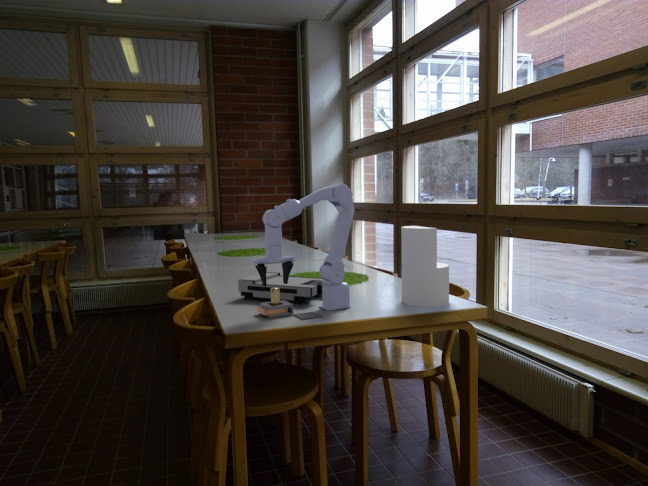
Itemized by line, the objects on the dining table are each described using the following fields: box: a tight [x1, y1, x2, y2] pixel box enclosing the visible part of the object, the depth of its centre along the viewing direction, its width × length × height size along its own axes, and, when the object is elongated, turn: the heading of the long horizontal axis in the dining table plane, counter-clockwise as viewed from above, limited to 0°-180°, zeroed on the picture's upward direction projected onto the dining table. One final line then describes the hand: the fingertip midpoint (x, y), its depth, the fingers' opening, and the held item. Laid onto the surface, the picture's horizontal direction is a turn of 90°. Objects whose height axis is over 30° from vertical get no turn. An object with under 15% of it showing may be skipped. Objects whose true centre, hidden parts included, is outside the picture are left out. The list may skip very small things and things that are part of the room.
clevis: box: [256, 300, 294, 319], centre depth 157 cm, size 10×8×4 cm
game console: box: [237, 271, 323, 305], centre depth 184 cm, size 21×32×8 cm, turn 65°
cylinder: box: [400, 225, 450, 308], centre depth 171 cm, size 17×17×28 cm
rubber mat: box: [293, 311, 322, 321], centre depth 154 cm, size 7×7×1 cm
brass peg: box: [271, 287, 280, 306], centre depth 157 cm, size 3×3×9 cm
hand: (275, 284), depth 157 cm, fingers open, 7 cm apart
